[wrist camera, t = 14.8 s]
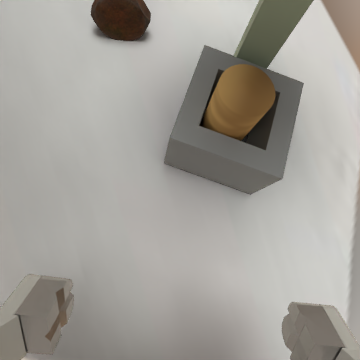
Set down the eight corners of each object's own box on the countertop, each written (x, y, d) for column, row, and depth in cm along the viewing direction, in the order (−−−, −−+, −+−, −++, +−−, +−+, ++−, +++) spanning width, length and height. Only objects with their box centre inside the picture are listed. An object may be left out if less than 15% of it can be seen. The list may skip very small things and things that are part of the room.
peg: (188, 152, 25) (211, 102, 17) (200, 118, 26) (227, 55, 18) (226, 166, 25) (267, 124, 17) (236, 132, 26) (280, 76, 18)
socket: (163, 162, 25) (169, 137, 19) (192, 87, 27) (204, 45, 21) (250, 194, 25) (282, 178, 19) (270, 117, 27) (303, 83, 22)
